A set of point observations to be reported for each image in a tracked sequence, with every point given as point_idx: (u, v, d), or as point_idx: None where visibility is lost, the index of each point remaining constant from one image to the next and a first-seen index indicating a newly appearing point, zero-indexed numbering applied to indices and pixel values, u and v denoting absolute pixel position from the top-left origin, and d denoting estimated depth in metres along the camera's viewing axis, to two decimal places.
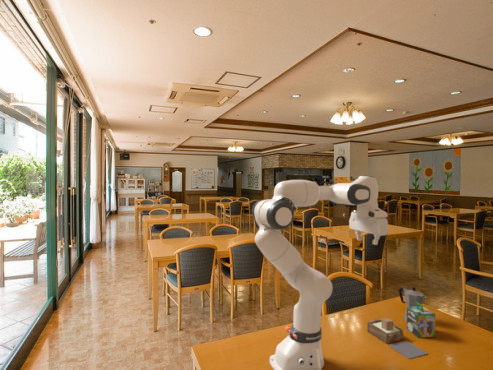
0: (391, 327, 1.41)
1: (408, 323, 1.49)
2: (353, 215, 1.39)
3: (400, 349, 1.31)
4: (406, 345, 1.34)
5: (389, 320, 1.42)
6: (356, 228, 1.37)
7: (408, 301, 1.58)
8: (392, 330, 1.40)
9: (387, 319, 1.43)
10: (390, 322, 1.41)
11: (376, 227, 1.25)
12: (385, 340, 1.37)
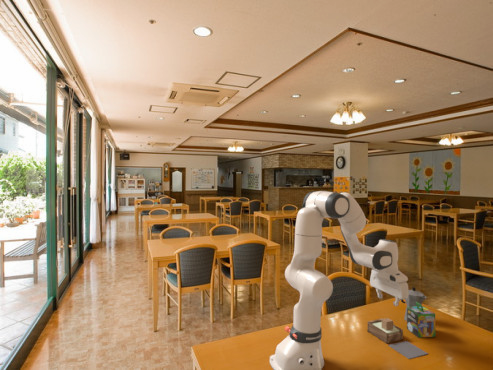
0: (391, 327, 1.41)
1: (408, 323, 1.49)
2: (374, 274, 1.48)
3: (400, 349, 1.31)
4: (406, 345, 1.34)
5: (389, 320, 1.42)
6: (377, 287, 1.46)
7: (408, 301, 1.58)
8: (392, 330, 1.40)
9: (387, 319, 1.43)
10: (390, 322, 1.41)
11: (397, 291, 1.34)
12: (385, 340, 1.37)
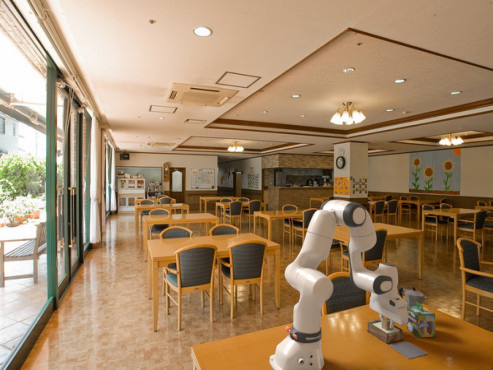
0: None
1: (408, 323, 1.49)
2: (373, 296, 1.48)
3: (400, 349, 1.31)
4: (406, 345, 1.34)
5: (389, 320, 1.42)
6: (376, 310, 1.46)
7: (408, 301, 1.58)
8: (392, 330, 1.40)
9: (387, 319, 1.43)
10: (390, 322, 1.41)
11: (397, 316, 1.34)
12: (385, 340, 1.37)
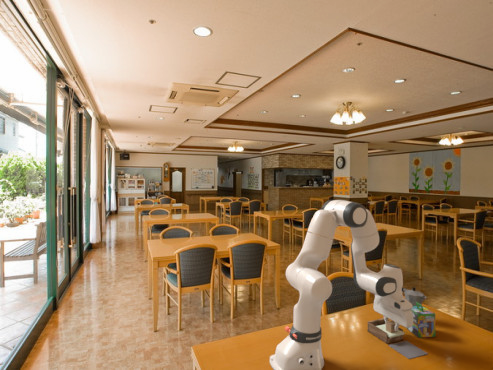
0: None
1: None
2: (377, 298, 1.45)
3: (400, 349, 1.31)
4: (406, 345, 1.34)
5: (394, 323, 1.39)
6: (380, 312, 1.43)
7: None
8: (397, 333, 1.37)
9: (391, 321, 1.40)
10: None
11: (402, 318, 1.32)
12: (385, 340, 1.37)
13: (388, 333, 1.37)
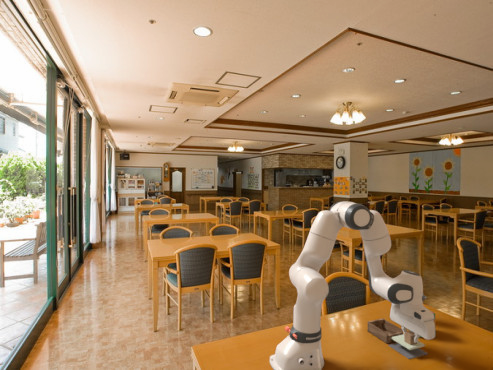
0: None
1: None
2: (394, 307, 1.36)
3: (400, 349, 1.31)
4: None
5: (413, 333, 1.29)
6: (398, 322, 1.34)
7: None
8: (416, 344, 1.28)
9: (410, 332, 1.30)
10: (414, 336, 1.29)
11: (423, 330, 1.22)
12: (385, 340, 1.37)
13: (407, 345, 1.28)
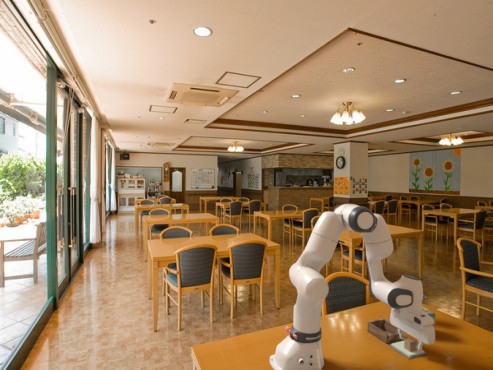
0: (415, 348, 1.29)
1: None
2: (394, 312, 1.36)
3: None
4: None
5: (413, 340, 1.29)
6: (398, 326, 1.34)
7: None
8: (416, 351, 1.28)
9: (410, 339, 1.30)
10: (414, 343, 1.28)
11: (422, 334, 1.22)
12: (385, 340, 1.37)
13: (407, 352, 1.27)
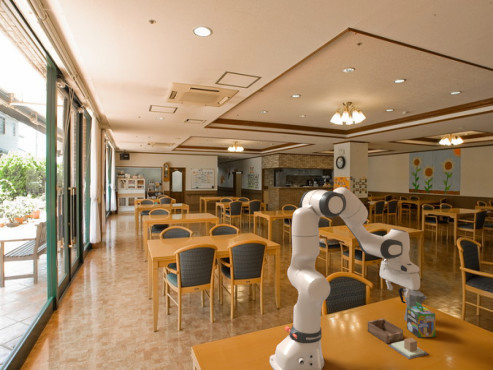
0: (415, 348, 1.29)
1: (408, 323, 1.49)
2: (384, 265, 1.44)
3: None
4: None
5: (413, 340, 1.29)
6: (387, 278, 1.42)
7: (408, 301, 1.58)
8: (416, 351, 1.28)
9: (410, 339, 1.30)
10: (414, 343, 1.28)
11: (408, 281, 1.30)
12: (385, 340, 1.37)
13: (407, 352, 1.27)
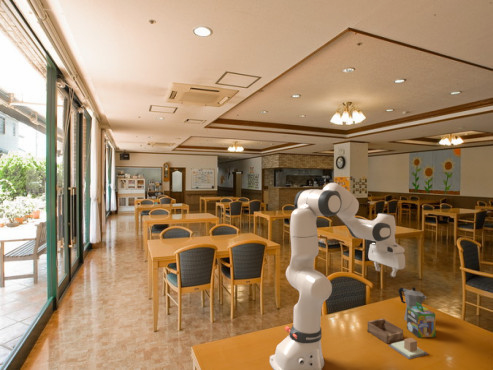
0: (415, 348, 1.29)
1: (408, 323, 1.49)
2: (372, 247, 1.53)
3: None
4: None
5: (413, 340, 1.29)
6: (375, 260, 1.51)
7: (408, 301, 1.58)
8: (416, 351, 1.28)
9: (410, 339, 1.30)
10: (414, 343, 1.28)
11: (394, 261, 1.39)
12: (385, 340, 1.37)
13: (407, 352, 1.27)
